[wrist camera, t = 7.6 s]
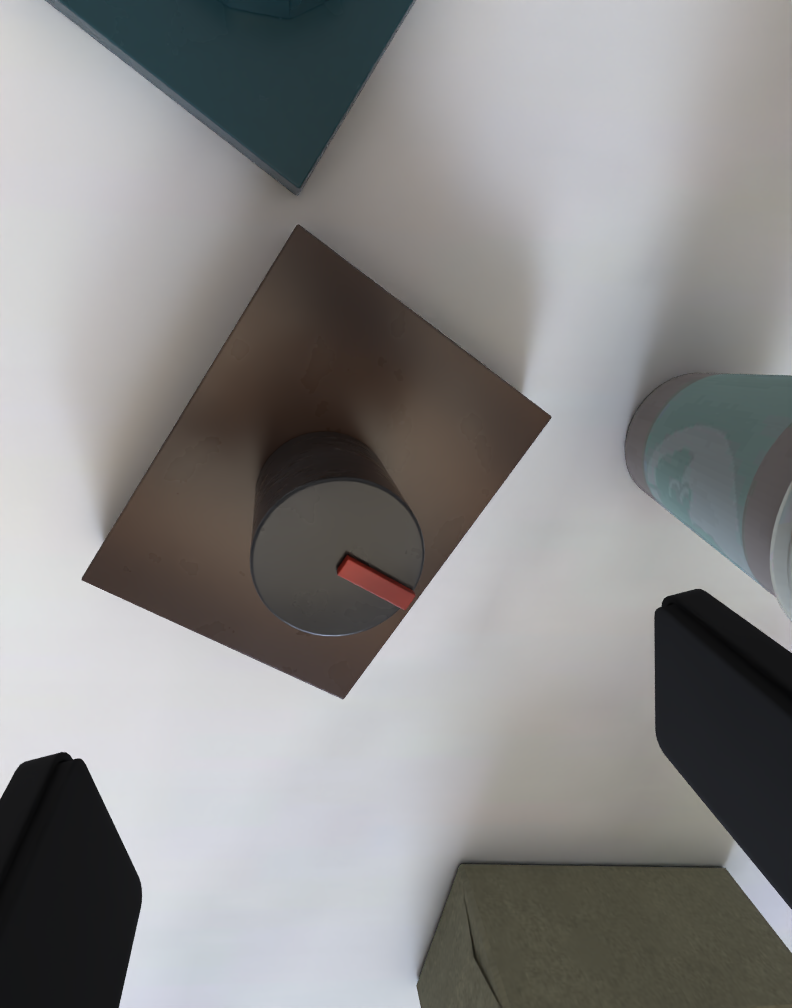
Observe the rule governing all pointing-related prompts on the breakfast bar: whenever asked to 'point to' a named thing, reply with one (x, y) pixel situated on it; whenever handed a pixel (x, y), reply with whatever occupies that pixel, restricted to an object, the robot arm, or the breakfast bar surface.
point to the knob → (332, 537)
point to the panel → (297, 411)
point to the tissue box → (602, 941)
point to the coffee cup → (723, 467)
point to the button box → (252, 65)
